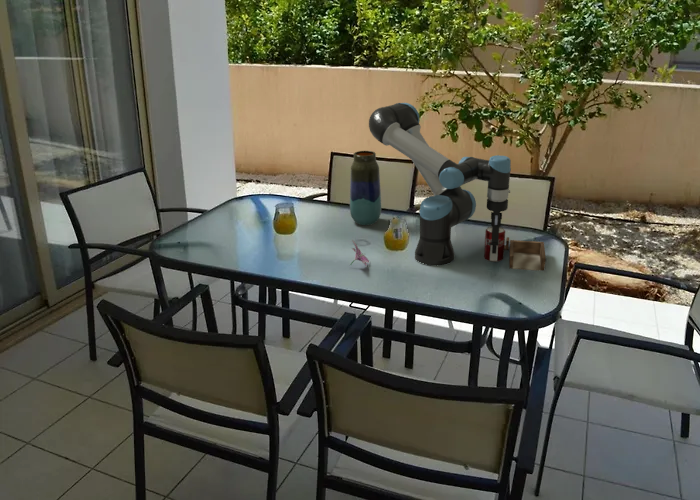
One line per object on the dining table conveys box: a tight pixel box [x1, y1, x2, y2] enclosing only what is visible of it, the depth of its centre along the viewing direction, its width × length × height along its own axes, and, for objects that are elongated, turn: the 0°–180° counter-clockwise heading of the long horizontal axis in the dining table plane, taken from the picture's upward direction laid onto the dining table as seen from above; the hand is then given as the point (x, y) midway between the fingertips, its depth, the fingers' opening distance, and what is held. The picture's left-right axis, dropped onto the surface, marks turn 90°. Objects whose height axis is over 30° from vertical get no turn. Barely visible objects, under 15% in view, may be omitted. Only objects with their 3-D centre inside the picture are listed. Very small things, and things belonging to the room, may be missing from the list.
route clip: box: [504, 236, 510, 251], centre depth 247 cm, size 5×4×4 cm
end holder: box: [508, 239, 547, 272], centre depth 234 cm, size 12×15×5 cm
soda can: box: [483, 225, 506, 263], centre depth 236 cm, size 7×7×12 cm
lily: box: [350, 239, 370, 266], centre depth 233 cm, size 12×12×10 cm
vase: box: [349, 150, 382, 226], centre depth 272 cm, size 14×14×31 cm
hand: (493, 256), depth 238 cm, fingers closed on soda can, 7 cm apart
